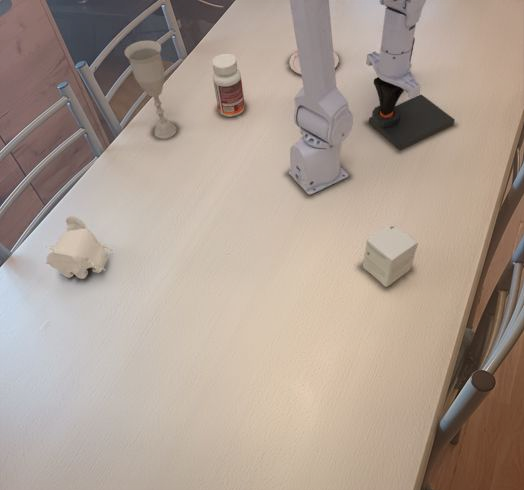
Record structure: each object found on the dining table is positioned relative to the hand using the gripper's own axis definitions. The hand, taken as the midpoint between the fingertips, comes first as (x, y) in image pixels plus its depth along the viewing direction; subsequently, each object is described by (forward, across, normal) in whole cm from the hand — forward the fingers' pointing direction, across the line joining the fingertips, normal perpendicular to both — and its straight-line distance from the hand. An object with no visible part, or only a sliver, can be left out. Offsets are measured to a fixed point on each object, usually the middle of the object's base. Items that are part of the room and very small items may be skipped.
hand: (386, 112), depth 105 cm
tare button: (+1, 0, 0) cm, 1 cm away
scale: (+3, -3, -4) cm, 6 cm away
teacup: (+3, +29, 0) cm, 29 cm away
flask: (+3, +10, -10) cm, 15 cm away
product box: (+3, -32, +24) cm, 40 cm away
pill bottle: (+3, +25, +24) cm, 35 cm away
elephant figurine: (+3, -1, +70) cm, 70 cm away
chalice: (+3, +27, +40) cm, 49 cm away
